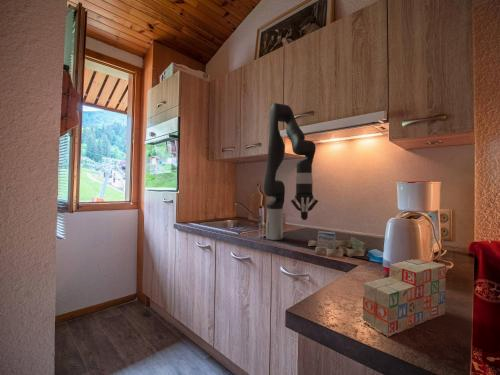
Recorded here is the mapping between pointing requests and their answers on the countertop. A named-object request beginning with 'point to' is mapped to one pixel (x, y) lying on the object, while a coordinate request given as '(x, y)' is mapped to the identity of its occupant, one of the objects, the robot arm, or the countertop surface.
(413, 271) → the stack of blocks
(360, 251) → the frame
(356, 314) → the countertop surface
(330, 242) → the medicine box
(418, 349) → the countertop surface
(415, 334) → the countertop surface
